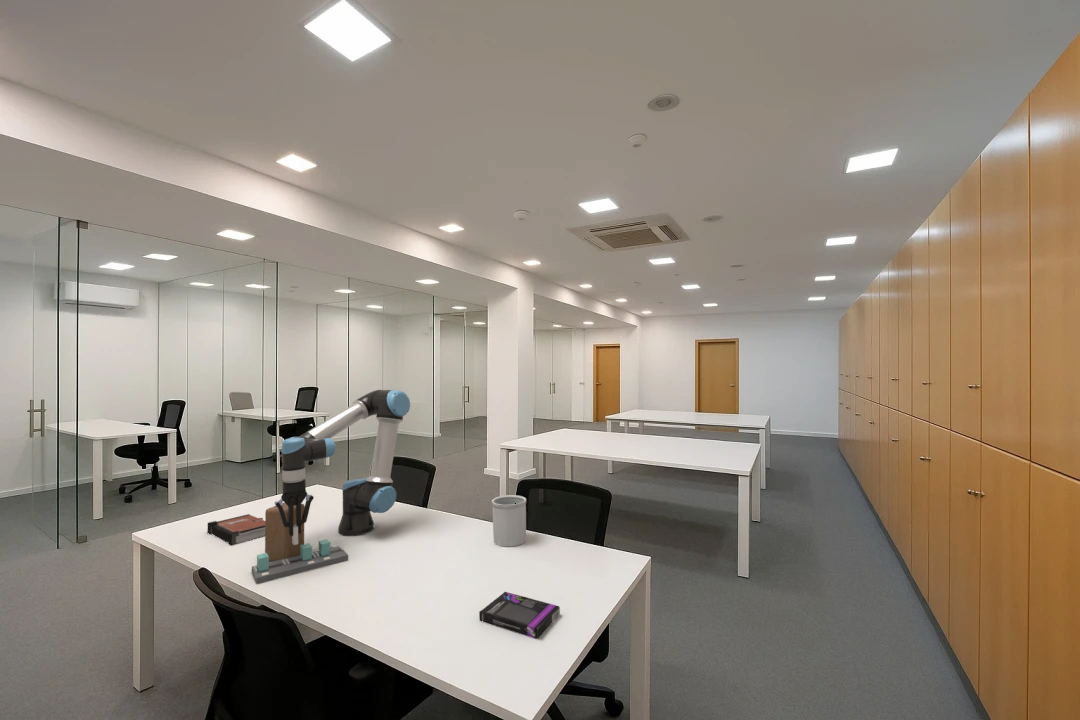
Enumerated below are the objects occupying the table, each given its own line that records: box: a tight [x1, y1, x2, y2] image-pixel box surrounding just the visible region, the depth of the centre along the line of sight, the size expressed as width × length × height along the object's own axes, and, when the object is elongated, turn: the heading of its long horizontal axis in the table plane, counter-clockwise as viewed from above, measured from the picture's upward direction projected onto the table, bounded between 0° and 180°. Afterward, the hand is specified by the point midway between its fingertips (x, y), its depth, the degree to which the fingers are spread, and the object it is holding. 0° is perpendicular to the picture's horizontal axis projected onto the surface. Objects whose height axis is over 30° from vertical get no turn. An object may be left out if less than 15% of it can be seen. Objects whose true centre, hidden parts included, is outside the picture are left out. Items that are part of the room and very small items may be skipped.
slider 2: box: [300, 542, 313, 561], centre depth 169 cm, size 3×4×4 cm, turn 39°
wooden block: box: [264, 502, 305, 562], centre depth 175 cm, size 10×10×20 cm
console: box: [251, 545, 349, 585], centre depth 167 cm, size 30×12×3 cm, turn 130°
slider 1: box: [256, 552, 270, 572], centre depth 160 cm, size 3×4×4 cm, turn 40°
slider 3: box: [318, 538, 331, 556], centre depth 173 cm, size 3×4×4 cm, turn 40°
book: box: [207, 513, 265, 547], centre depth 202 cm, size 26×18×5 cm
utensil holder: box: [491, 494, 527, 548], centre depth 191 cm, size 15×15×18 cm
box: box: [478, 591, 561, 640], centre depth 131 cm, size 14×4×20 cm
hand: (295, 543), depth 167 cm, fingers closed
